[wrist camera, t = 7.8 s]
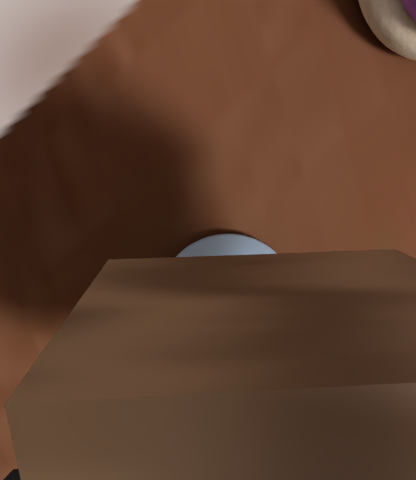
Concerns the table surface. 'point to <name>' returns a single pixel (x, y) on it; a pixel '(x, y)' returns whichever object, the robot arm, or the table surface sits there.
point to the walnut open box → (228, 372)
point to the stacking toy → (393, 24)
